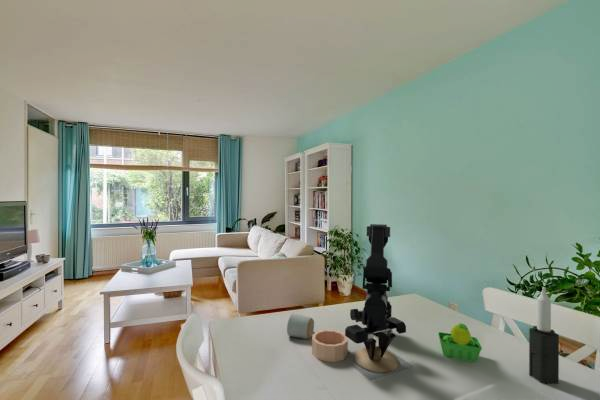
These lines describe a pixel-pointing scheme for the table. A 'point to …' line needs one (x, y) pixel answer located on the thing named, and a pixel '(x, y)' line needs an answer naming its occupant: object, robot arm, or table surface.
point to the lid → (376, 361)
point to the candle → (544, 344)
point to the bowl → (329, 345)
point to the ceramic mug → (300, 326)
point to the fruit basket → (460, 344)
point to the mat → (373, 375)
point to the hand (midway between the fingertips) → (375, 358)
